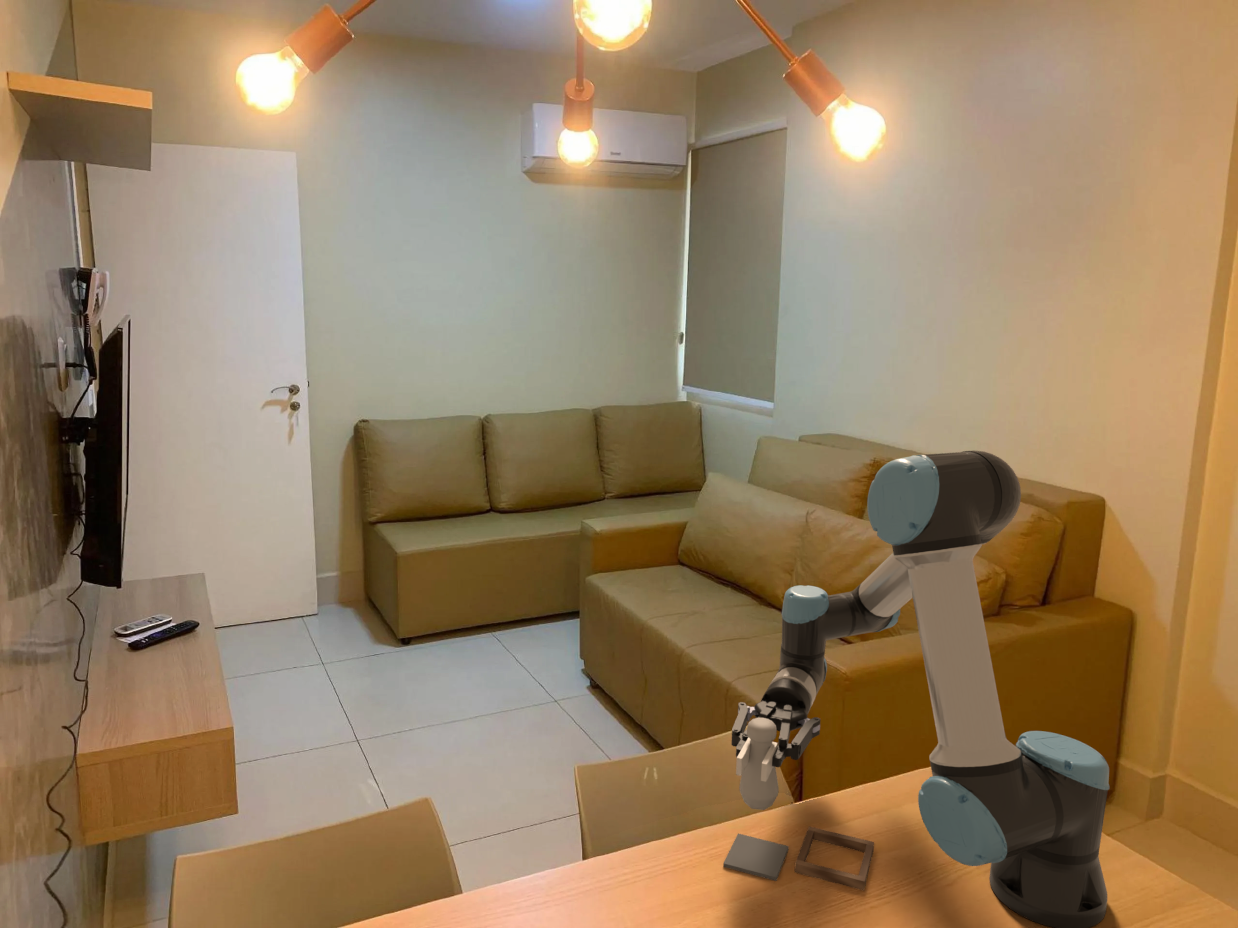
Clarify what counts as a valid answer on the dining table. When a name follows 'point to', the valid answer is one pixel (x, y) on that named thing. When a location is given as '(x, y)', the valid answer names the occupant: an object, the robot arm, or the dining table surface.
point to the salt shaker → (759, 766)
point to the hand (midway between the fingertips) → (751, 769)
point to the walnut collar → (830, 873)
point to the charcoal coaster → (756, 857)
